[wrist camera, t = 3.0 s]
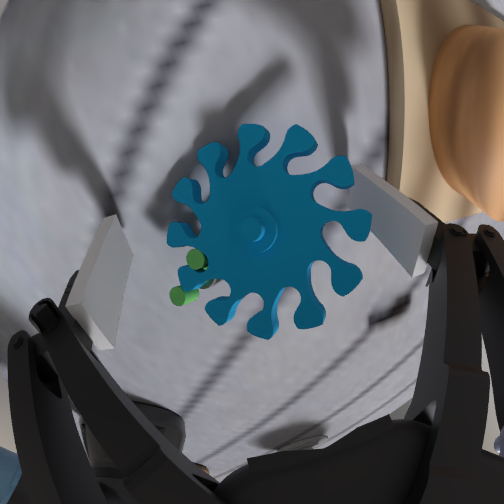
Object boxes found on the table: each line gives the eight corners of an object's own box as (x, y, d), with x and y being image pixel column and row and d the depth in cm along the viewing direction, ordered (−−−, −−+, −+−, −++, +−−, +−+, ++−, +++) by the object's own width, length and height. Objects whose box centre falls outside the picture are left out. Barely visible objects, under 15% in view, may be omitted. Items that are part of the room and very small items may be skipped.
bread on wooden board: (381, 224, 19) (426, 271, 14) (374, -31, 8) (436, -49, 4) (503, 197, 20) (537, 224, 16) (515, 36, 9) (558, 48, 5)
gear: (281, 76, 11) (419, 272, 9) (308, 122, 16) (400, 258, 15) (123, 215, 15) (206, 378, 13) (183, 217, 20) (251, 340, 19)
